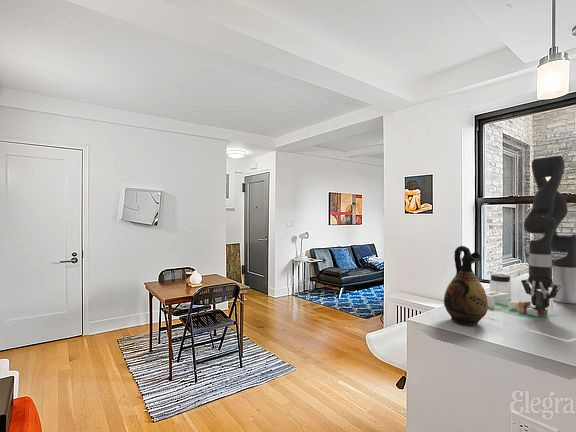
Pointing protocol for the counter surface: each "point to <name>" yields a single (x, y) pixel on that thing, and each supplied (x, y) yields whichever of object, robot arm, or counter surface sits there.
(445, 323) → the counter surface
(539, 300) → the wooden peg with knob
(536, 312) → the bracket
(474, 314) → the ceramic jug
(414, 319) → the counter surface
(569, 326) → the counter surface
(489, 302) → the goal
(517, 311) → the pitch mat
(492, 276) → the jar
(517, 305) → the ball
